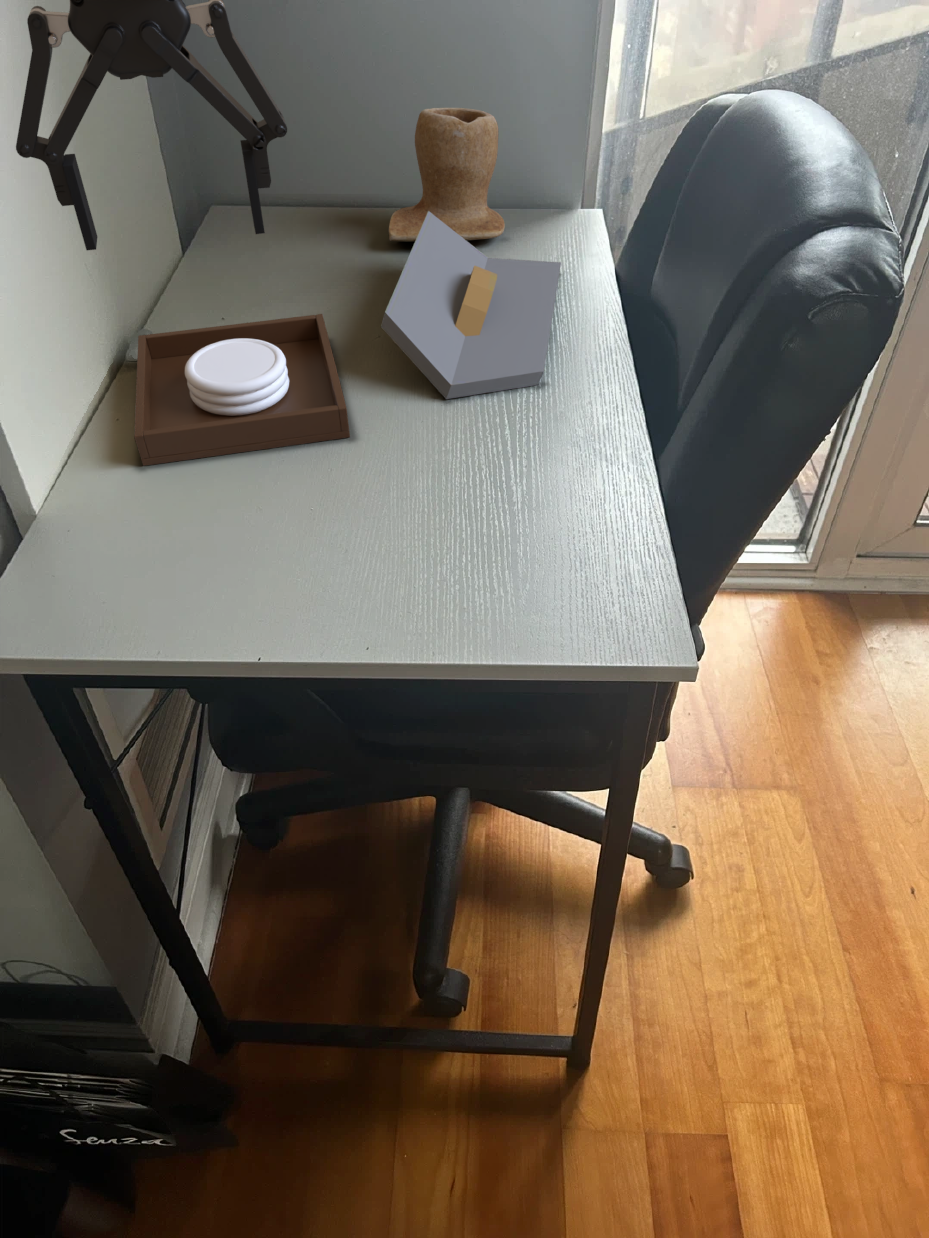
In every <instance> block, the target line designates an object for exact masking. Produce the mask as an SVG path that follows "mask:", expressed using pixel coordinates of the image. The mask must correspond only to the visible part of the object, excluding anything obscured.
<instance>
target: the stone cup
mask: <svg viewBox="0 0 929 1238" xmlns="http://www.w3.org/2000/svg"><path fill="white" fill-rule="evenodd" d="M414 148H415V155H416V160H417V164H418V171H419V175H420V180H421V186H422V194H421V195H422V196H421V199H420V200H419V201H418V202H417V203H416V204H415V205H412V206H407V207H401V208H399V209H397V210H395V211H394V212H393V213H392V215H391V217H390V220H389V224H388V235H389V236H388V239H389V241H390V242H407V243H408V242H409V243H410V242H414V243H415V241H416V238H417V236H418V234H419V231H420V229H421V227H422V224H423V222H424V220H425V217H426V215H427V213H428V211H429V212H431V213H432V214H433V215H434V216H436V217H437V218H438V219H439V220H441V221H442V222H443V223H444V224H446V225H447V226H448V227H450V228H451V229H452V230H453V231H455V232H456V233H457V234H458V235H460V236H461V237H462V238H464V239H465V240H466V241H476V240H488V239H494V238H498V237H500V236H501V235H502V234H503V233H504V231H505V227H506V225H505V220H504V218H503V217H502V215H500V213H498V211H496V210H493V209H492V208H490V207H489V205H488V193H489V188H490V183H491V181H492V178H493V174H494V171H495V168H496V165H497V160H498V154H499V153H498V152H499V124H498V122H497V120H496V118H495V116H494V115H492V114H491V113H489V112H486V111H483V110H479V109H474V108H466V107H432V108H425V109H422V110H421V111H420V113H419V114H418V117H417V122H416V126H415V131H414Z"/></svg>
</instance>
